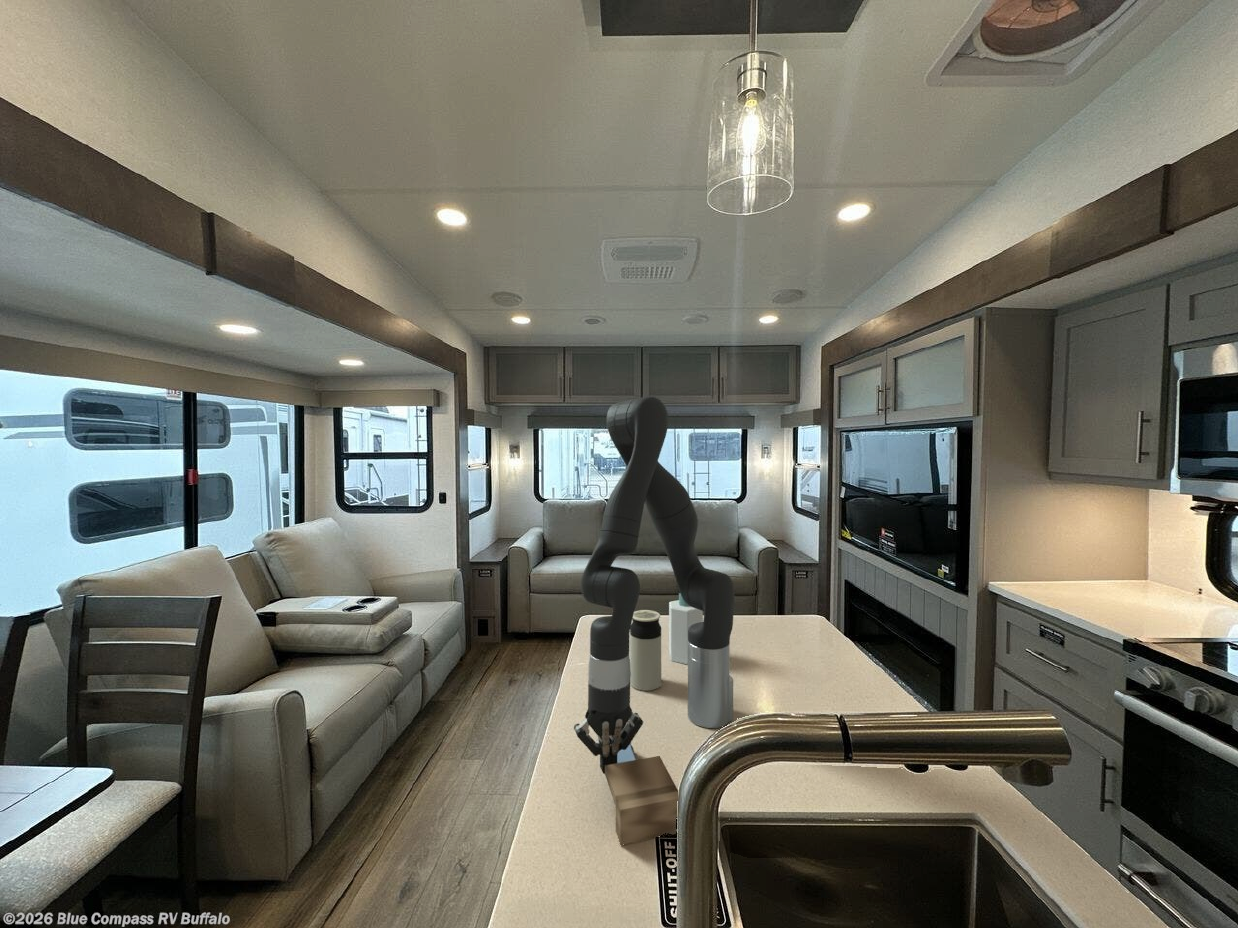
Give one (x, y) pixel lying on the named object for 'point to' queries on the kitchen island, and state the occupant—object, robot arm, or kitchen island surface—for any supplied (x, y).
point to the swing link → (625, 755)
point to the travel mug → (645, 650)
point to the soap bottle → (681, 628)
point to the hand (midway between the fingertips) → (608, 772)
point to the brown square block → (642, 799)
